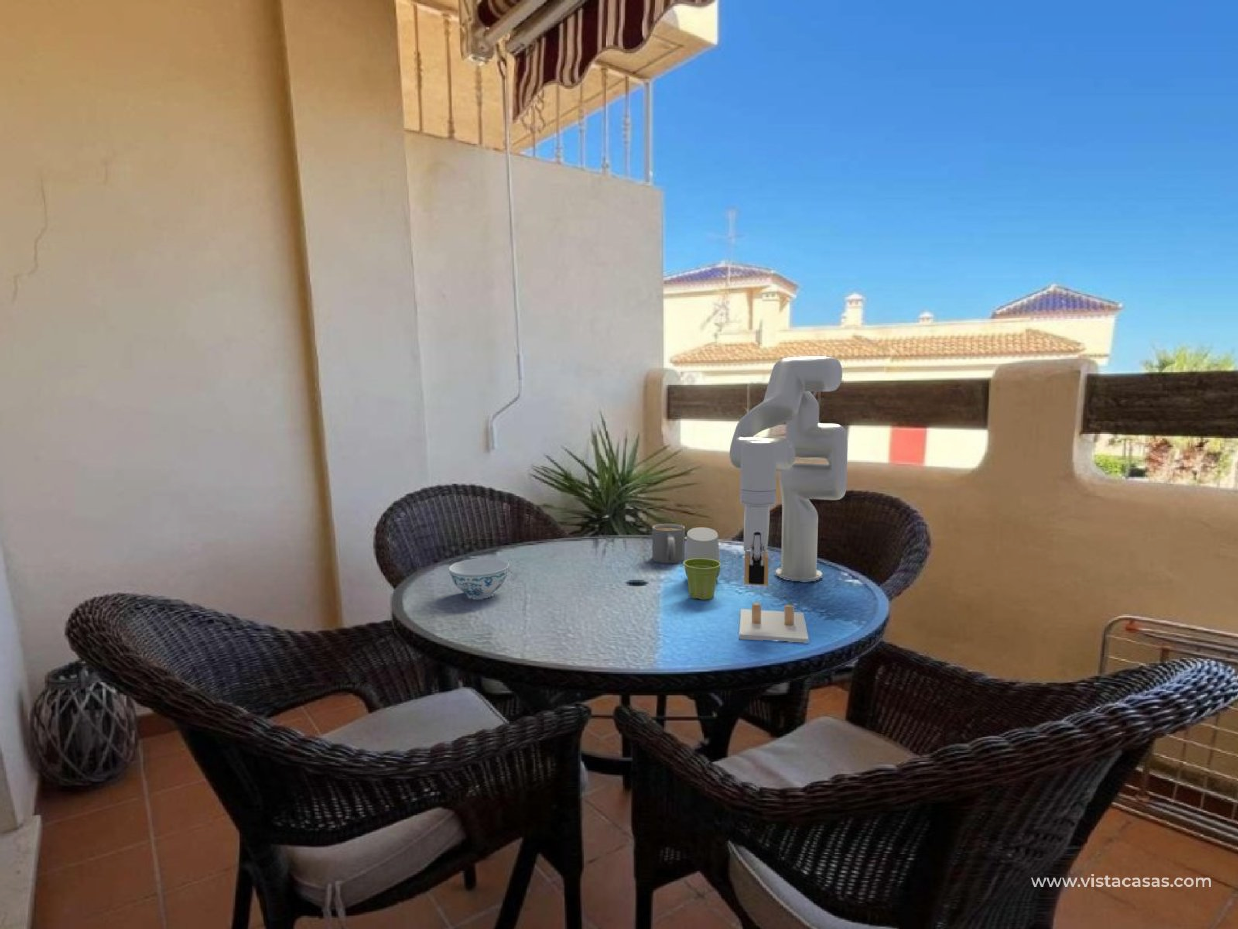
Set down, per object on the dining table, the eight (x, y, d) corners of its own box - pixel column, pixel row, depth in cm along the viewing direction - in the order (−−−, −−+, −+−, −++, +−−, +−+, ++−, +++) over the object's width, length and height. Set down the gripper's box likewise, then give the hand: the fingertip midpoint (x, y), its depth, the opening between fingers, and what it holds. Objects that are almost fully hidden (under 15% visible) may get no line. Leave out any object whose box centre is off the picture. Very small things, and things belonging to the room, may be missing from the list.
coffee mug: (654, 554, 208) (654, 523, 207) (685, 555, 206) (685, 524, 205) (649, 565, 195) (648, 532, 194) (682, 566, 193) (682, 533, 192)
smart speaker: (687, 585, 175) (687, 534, 173) (682, 575, 184) (682, 526, 182) (722, 584, 175) (723, 533, 173) (716, 575, 184) (716, 526, 183)
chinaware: (478, 583, 179) (477, 556, 178) (521, 591, 171) (520, 563, 170) (437, 599, 166) (436, 569, 165) (482, 608, 158) (480, 577, 157)
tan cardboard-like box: (744, 578, 146) (745, 550, 145) (767, 579, 145) (768, 552, 144) (744, 584, 141) (744, 556, 140) (768, 585, 140) (768, 557, 139)
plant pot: (709, 588, 172) (709, 556, 171) (727, 599, 163) (727, 565, 162) (676, 593, 168) (676, 560, 167) (694, 604, 160) (694, 569, 159)
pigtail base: (741, 613, 153) (741, 592, 152) (803, 616, 150) (803, 595, 149) (739, 638, 137) (739, 615, 137) (808, 643, 134) (808, 620, 134)
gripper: (741, 491, 150) (739, 569, 152) (739, 503, 133) (737, 590, 135) (774, 492, 148) (773, 570, 150) (777, 504, 132) (775, 592, 134)
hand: (756, 579), depth 143 cm, fingers closed on tan cardboard-like box, 4 cm apart
